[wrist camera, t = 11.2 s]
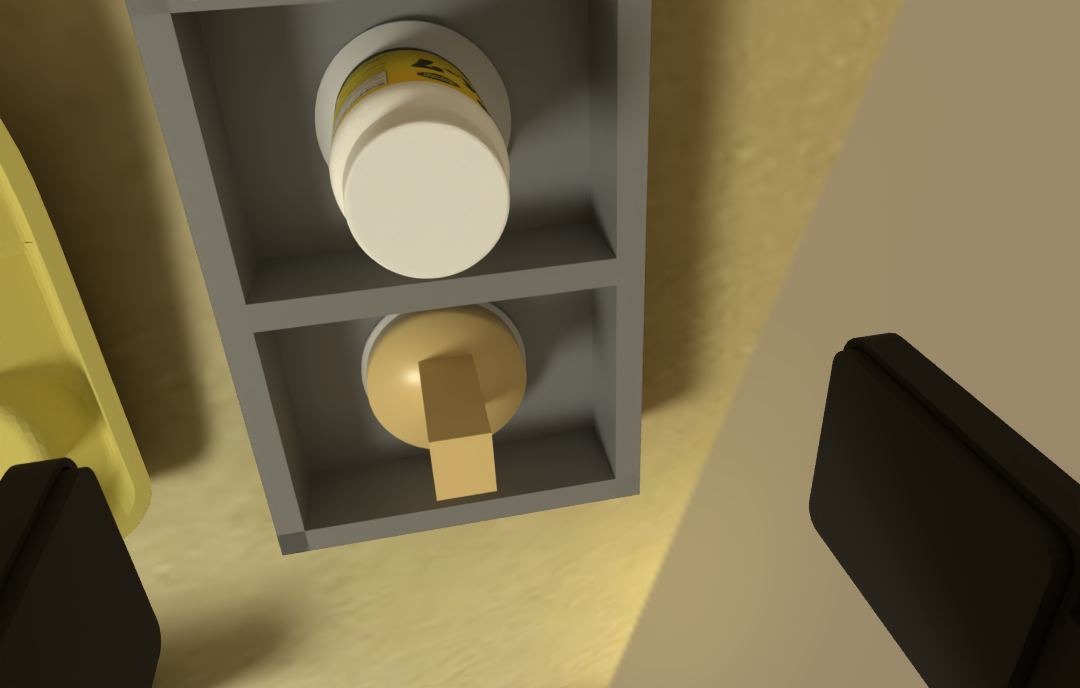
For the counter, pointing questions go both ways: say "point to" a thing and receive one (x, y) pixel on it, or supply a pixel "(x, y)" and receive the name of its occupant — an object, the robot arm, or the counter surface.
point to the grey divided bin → (405, 302)
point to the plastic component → (56, 357)
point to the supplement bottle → (418, 164)
